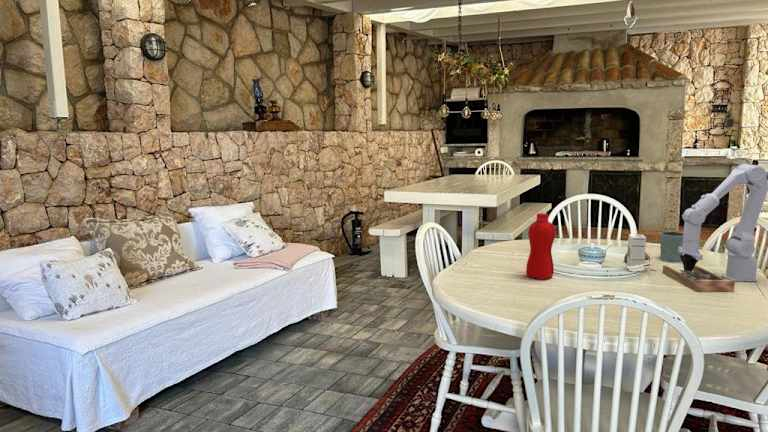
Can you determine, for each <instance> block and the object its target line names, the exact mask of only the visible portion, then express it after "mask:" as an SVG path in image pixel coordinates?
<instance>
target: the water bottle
mask: <svg viewBox="0 0 768 432" xmlns="http://www.w3.org/2000/svg"><path fill="white" fill-rule="evenodd" d="M549 217H550V216H549V214H548V213H544V212H543V213H541V212H539V213H536V221H534V222H532V223H531V224H530V225H529V228H528V232H527V236H528V241H529V246H530V248H529V249H530V250H529V251H530V252H529V255H528V258H527V261H526V262H527V263H526V268H525V269H526V270H525V274H526V275H527V276H528V278H531V279H535V280H536V279H537V280H541V281H543V280H548V279H550V278H553V276H554V273H555V272H554V268H555V267H554V261H553V254H552V247H553V244H554V242H555V241H554V240H555V237H556V228H555V226H554V224H553V223H552V222H550V221H549Z"/></svg>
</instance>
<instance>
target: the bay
mask: <svg viewBox="0 0 768 432" xmlns="http://www.w3.org/2000/svg"><path fill="white" fill-rule="evenodd" d="M695 271H696V272H698V274H703V275H704V274H705V275H710V276H711V277H709V278H708V279H709V280H695V281H694V280H693V279H691V278H689V277H687V276H685V275H683V274H681V272H679V271H677V270H675V269H674V268H671V267H670V266H668V265H662V274H664V275H666V276H667V277H668V278H669V277H670V278H671V279H672V280H674V281H677V282H678V283H680V284H682V285H684V286H685V287H688V289H690V290H692V291H694V292H697V293H700V292H701V293H702V292H703V293H705V292H706V293H713V292H714V293H718V292H719V293H721V292H722V293H734V292H735V285H736V281H734V280H729V279H727V278H725V277H724V278H723V276H721V275H720V276H719V275H717V274H715V273H713V272H711V271H709V270H707V269H704V268H703V267H700V266H698V265H695V266H694V269H693V271H692V272H695Z"/></svg>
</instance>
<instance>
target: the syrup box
mask: <svg viewBox="0 0 768 432" xmlns="http://www.w3.org/2000/svg"><path fill="white" fill-rule="evenodd" d="M627 240H628V243H627V252H628V253H627V252H626V253H627V263H626V267H627V266H635V265H640V264H644V263H645V252H646V244H647V243H646V242H647V237H646V236H645V235H644V234H643V233H642V234H639V233H630V234H628V239H627ZM644 272H645V270H644V271H643V272H642V273H644Z"/></svg>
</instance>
